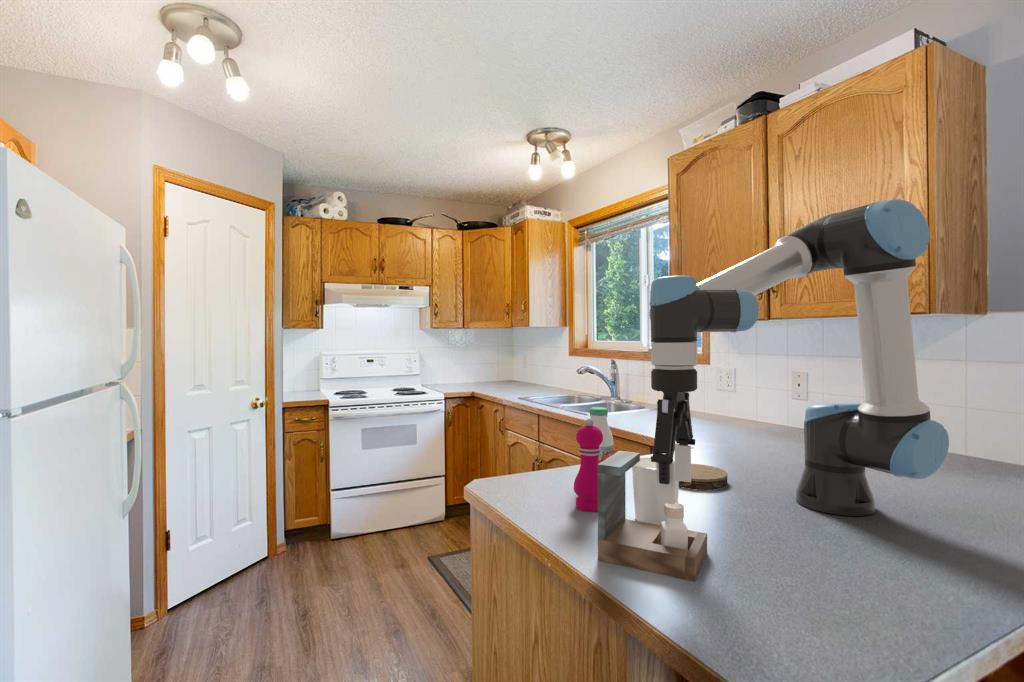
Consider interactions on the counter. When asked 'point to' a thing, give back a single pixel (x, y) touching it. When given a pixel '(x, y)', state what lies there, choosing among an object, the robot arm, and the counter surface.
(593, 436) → the pepper mill
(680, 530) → the salt shaker
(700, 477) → the tan flat round disc
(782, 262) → the robot arm
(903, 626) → the counter surface
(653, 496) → the candle holder
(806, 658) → the counter surface
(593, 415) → the milk bottle
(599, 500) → the socket stand
